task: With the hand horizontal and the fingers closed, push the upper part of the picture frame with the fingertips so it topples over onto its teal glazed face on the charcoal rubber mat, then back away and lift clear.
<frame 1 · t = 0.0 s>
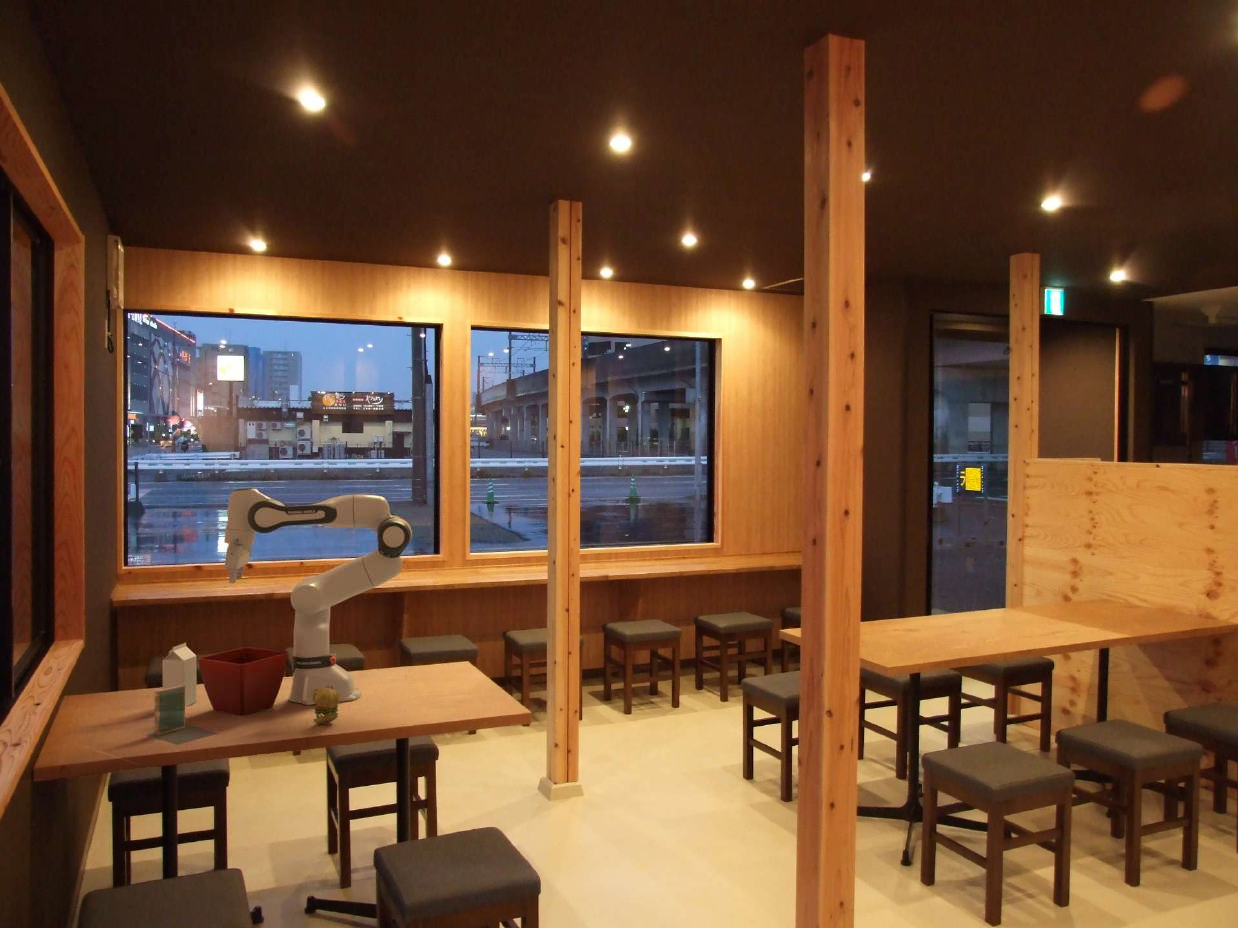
hand: (235, 580, 292), 39 cm above the table, tool pointing down, fingers open, 8 cm apart
mat: (182, 735, 258), on the table
milk carton: (179, 705, 289), on the table
picture frame: (170, 730, 261), resting on mat
hamburger: (326, 725, 267), on the table
plant pot: (244, 709, 285), on the table
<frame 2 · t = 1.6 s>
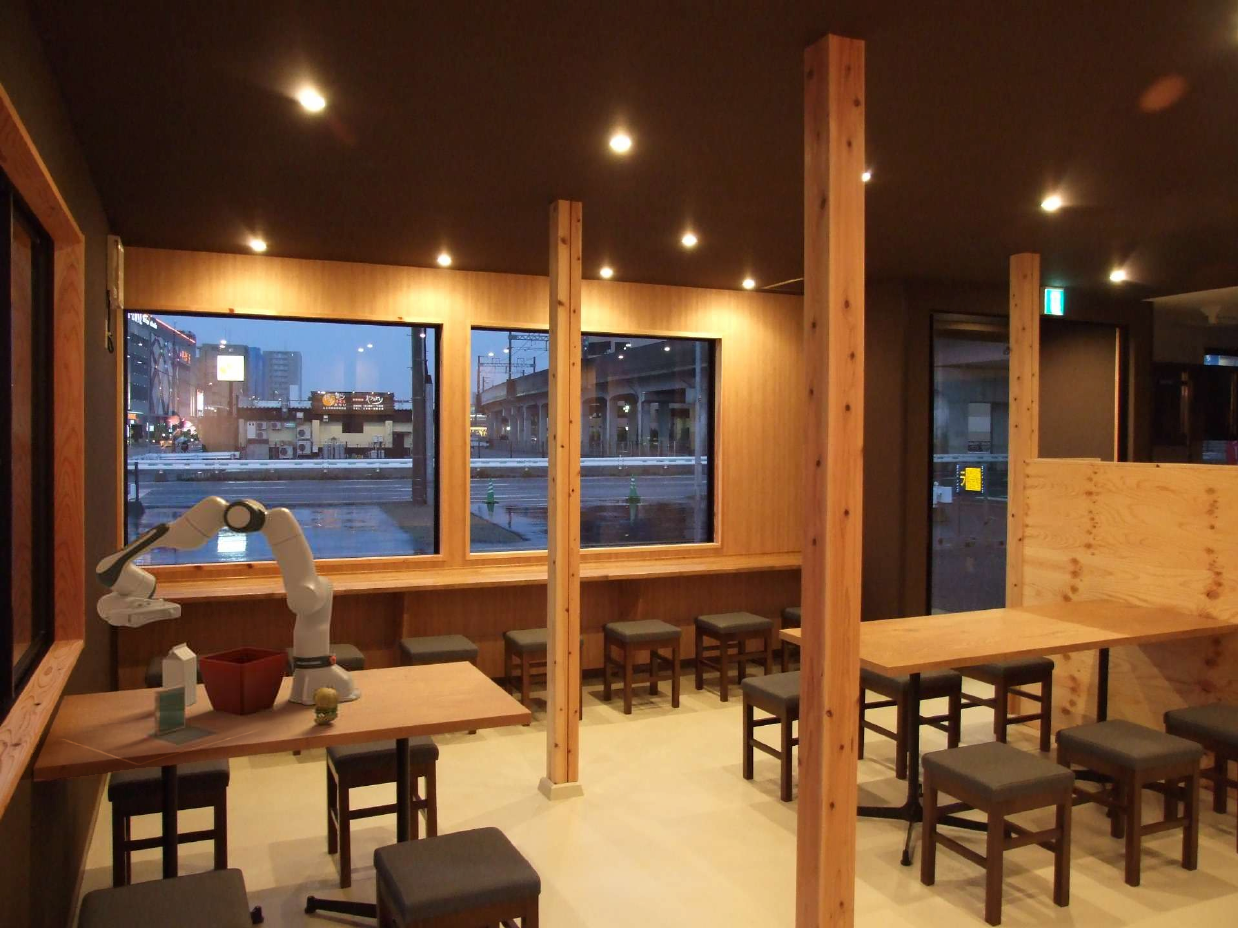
hand: (159, 617, 272), 31 cm above the table, tool horizontal, fingers open, 8 cm apart
nothing on the table moved.
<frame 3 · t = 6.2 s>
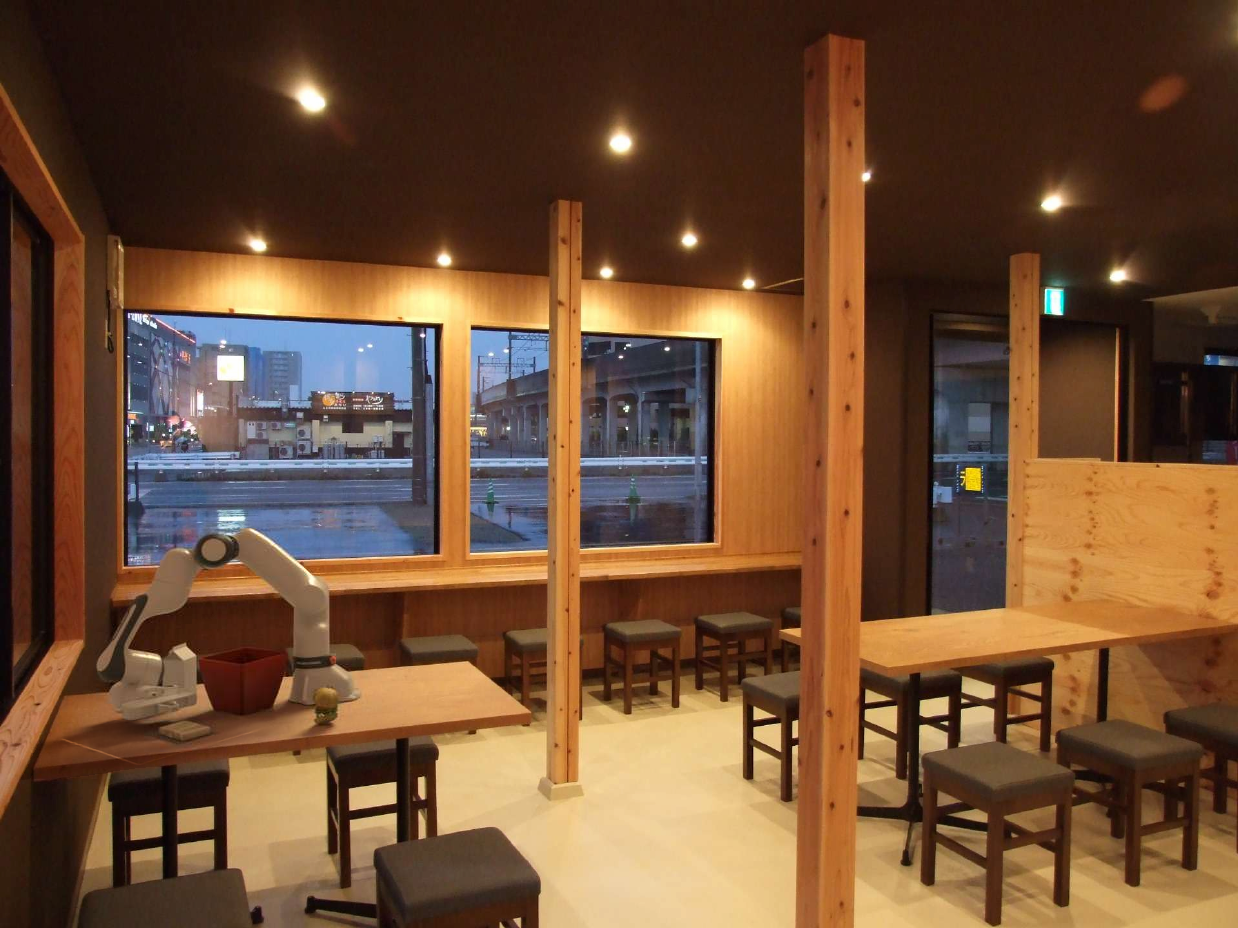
hand: (174, 708, 260), 7 cm above the table, tool horizontal, fingers closed
picture frame: (172, 726, 260), point 2 cm above the table, tilted 90°, touching mat
everything else where it was.
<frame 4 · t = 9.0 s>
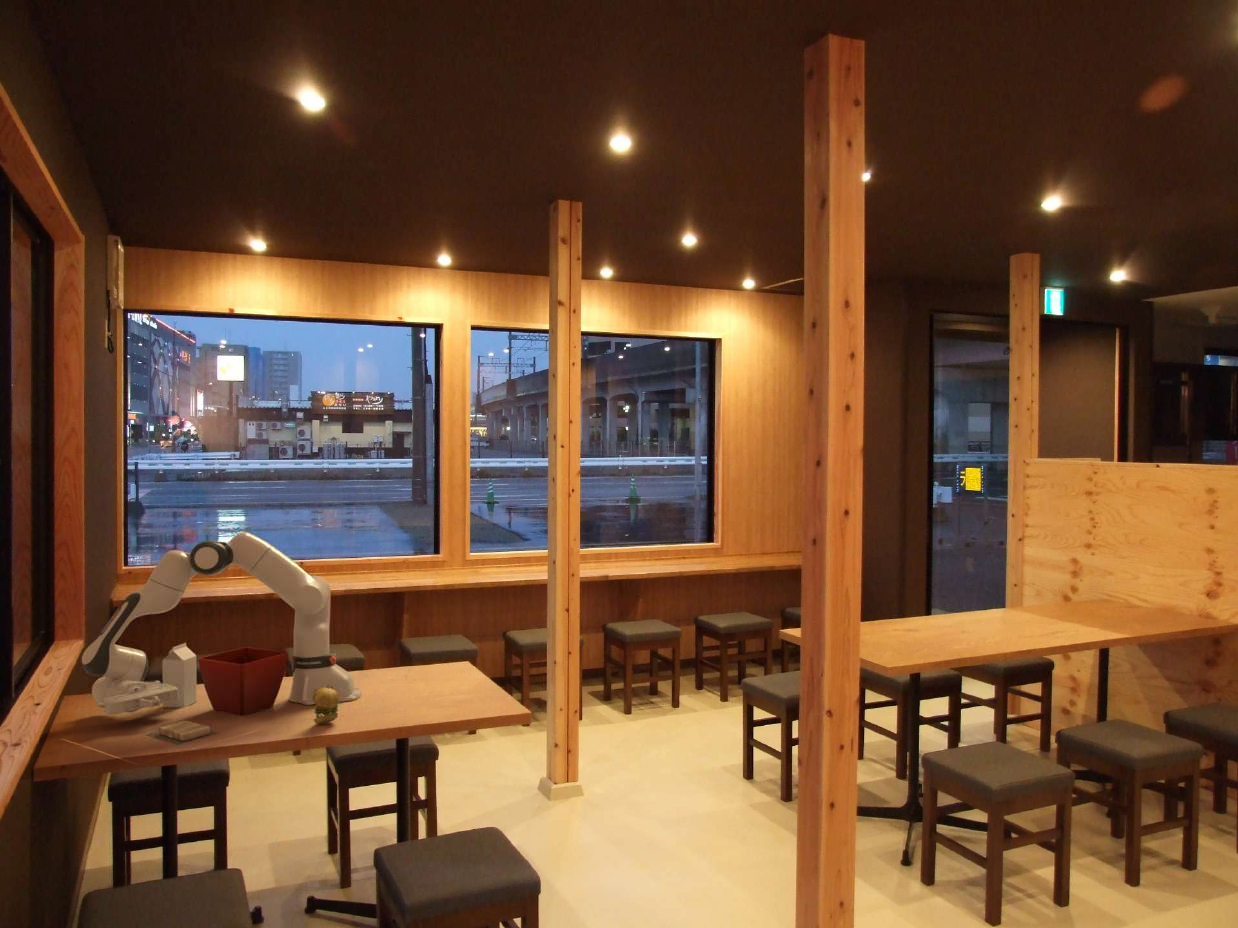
hand: (155, 703, 265), 7 cm above the table, tool horizontal, fingers closed
nothing on the table moved.
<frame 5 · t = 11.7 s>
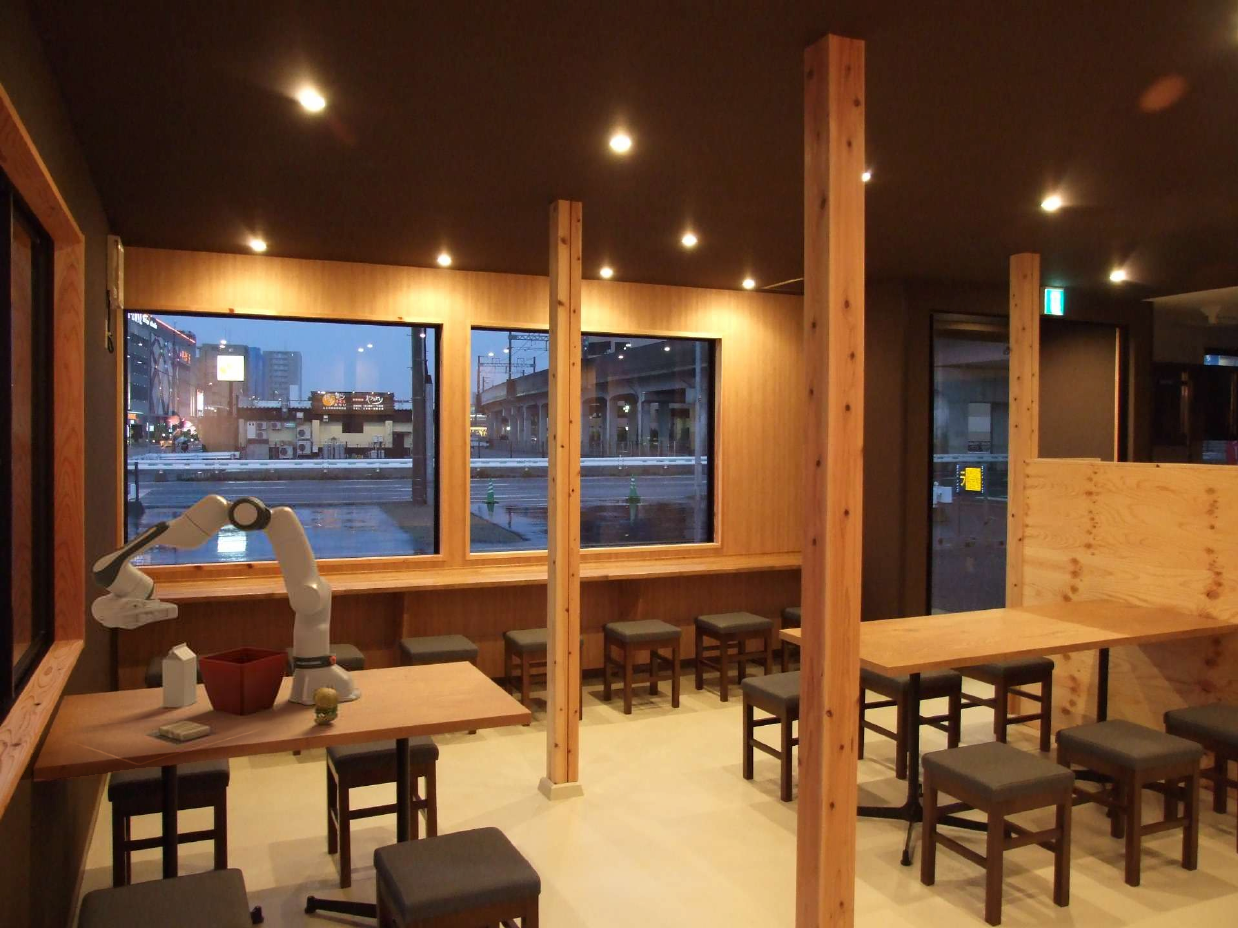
hand: (155, 617, 265), 32 cm above the table, tool horizontal, fingers closed
nothing on the table moved.
at the end: picture frame tilted 90°; picture frame inside the target area on the mat (4.8 cm from its centre), point 1.6 cm above the mat's base; picture frame touching mat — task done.
